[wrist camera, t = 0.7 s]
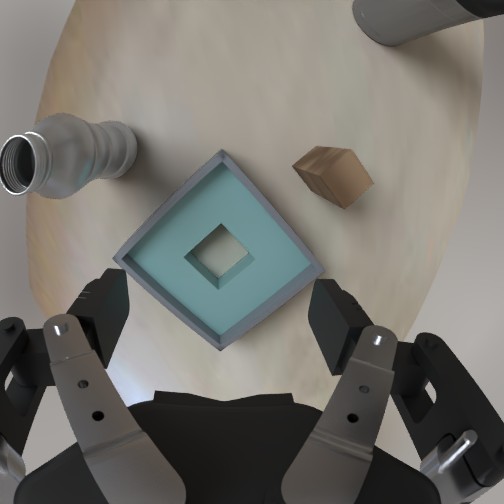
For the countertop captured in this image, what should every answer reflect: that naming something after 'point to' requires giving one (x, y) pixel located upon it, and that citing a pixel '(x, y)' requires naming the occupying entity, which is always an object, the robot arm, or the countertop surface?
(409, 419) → the robot arm
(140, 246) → the box
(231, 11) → the countertop surface
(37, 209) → the countertop surface
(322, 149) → the peg
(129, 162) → the plastic bottle
